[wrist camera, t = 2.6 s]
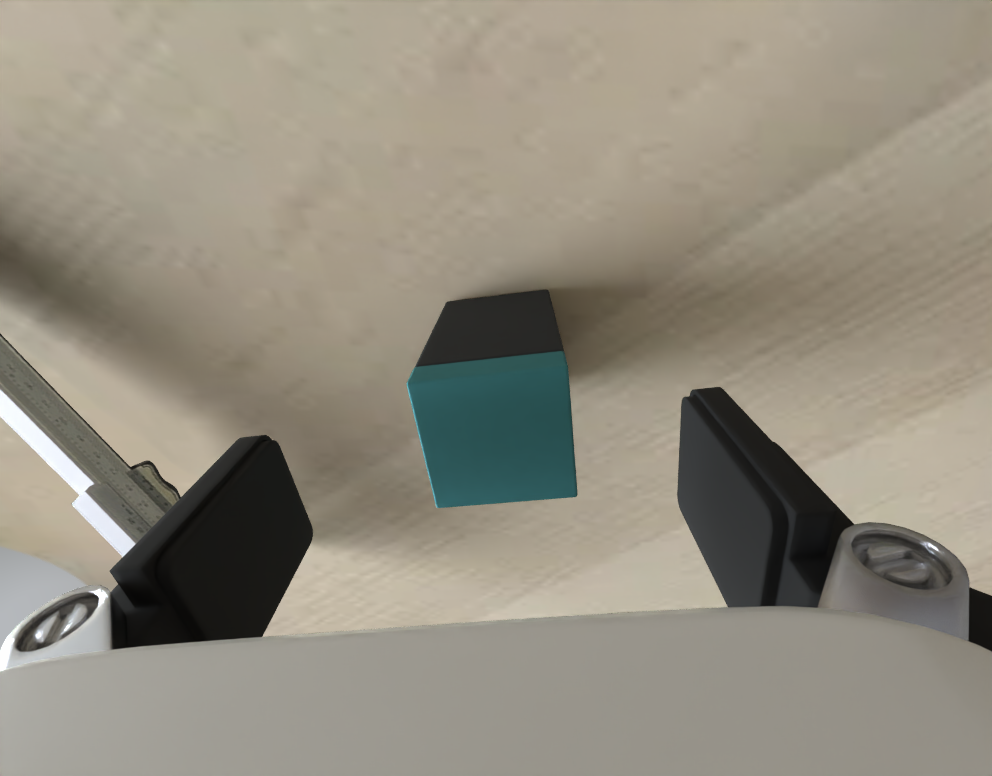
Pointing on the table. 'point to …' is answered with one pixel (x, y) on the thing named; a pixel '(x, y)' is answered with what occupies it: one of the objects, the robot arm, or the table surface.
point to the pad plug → (495, 403)
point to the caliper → (82, 456)
